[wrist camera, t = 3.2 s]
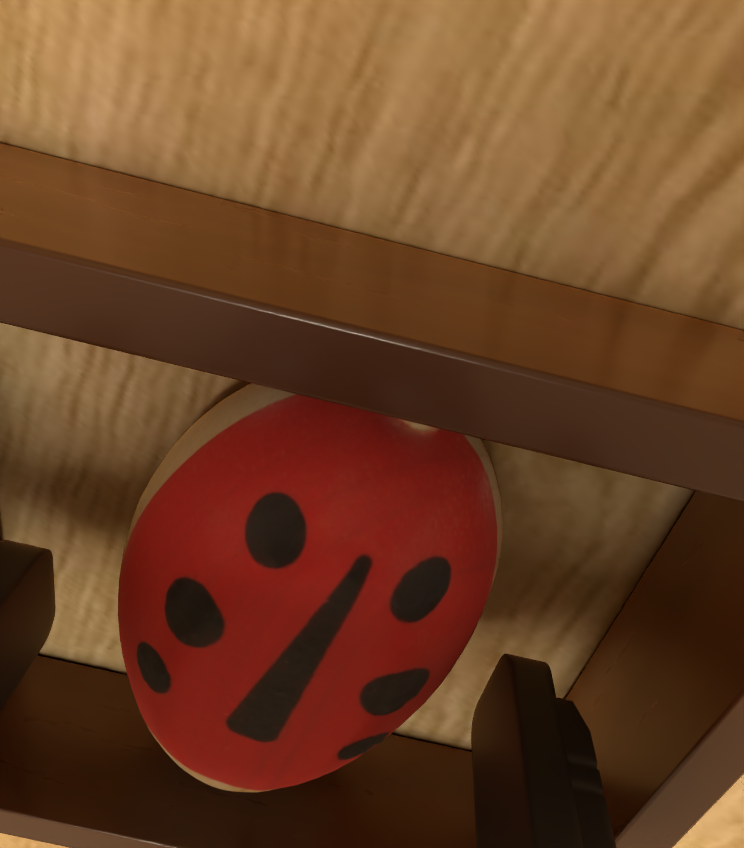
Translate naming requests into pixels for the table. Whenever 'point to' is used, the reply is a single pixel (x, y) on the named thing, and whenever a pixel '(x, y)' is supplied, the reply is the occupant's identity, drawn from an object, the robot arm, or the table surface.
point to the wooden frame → (412, 401)
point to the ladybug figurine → (301, 583)
